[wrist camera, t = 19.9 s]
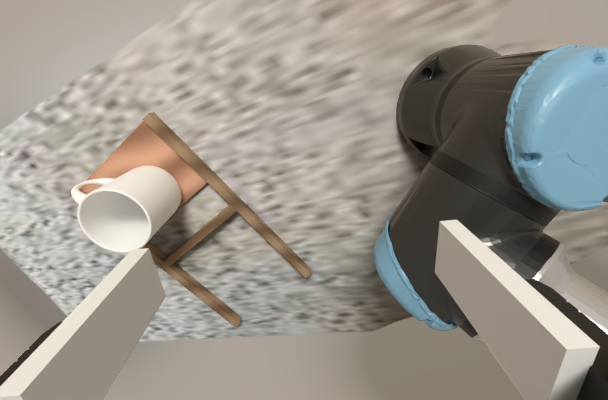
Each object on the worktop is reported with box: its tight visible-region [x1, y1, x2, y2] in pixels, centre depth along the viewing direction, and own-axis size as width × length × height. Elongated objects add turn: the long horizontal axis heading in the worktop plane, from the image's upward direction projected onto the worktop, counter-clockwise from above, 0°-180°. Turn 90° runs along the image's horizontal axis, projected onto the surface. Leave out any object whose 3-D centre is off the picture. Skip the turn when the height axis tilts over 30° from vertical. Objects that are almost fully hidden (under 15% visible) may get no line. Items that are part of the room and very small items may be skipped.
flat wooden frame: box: [70, 112, 311, 327], centre depth 48 cm, size 35×18×2 cm, turn 40°
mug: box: [71, 165, 181, 253], centre depth 40 cm, size 9×12×11 cm
